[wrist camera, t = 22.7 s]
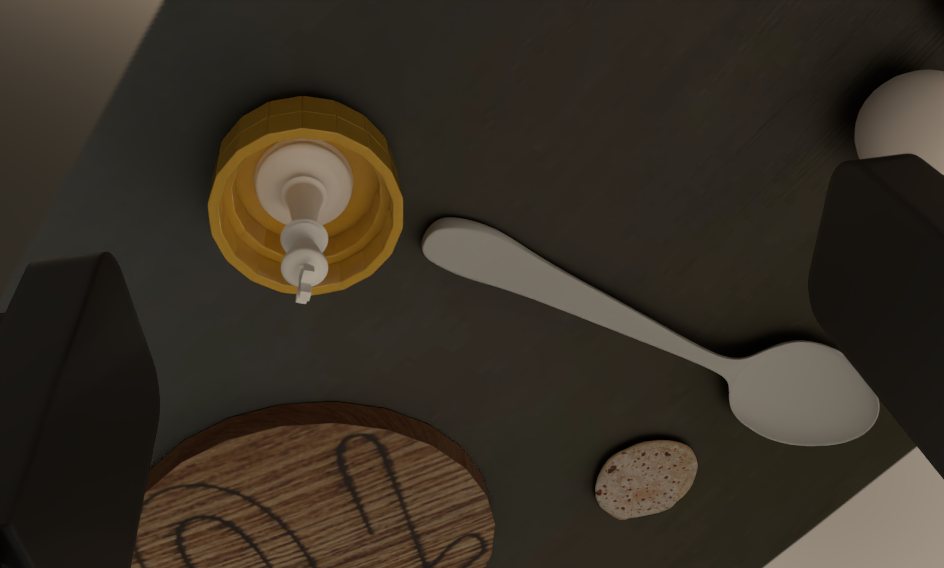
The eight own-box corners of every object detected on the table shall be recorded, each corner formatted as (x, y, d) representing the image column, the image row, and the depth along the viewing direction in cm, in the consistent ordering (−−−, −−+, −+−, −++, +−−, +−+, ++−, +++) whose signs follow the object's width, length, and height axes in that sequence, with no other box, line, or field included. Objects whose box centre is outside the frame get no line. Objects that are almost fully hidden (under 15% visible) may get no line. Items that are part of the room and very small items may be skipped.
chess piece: (246, 213, 44) (234, 333, 36) (263, 126, 41) (254, 235, 33) (341, 230, 45) (350, 350, 37) (363, 148, 43) (377, 257, 35)
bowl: (177, 146, 42) (165, 190, 38) (336, 56, 41) (340, 92, 37) (282, 273, 47) (280, 323, 43) (426, 196, 46) (437, 241, 42)
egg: (936, 29, 45) (1040, 87, 39) (944, 128, 49) (1041, 195, 42) (821, 81, 46) (905, 147, 39) (838, 175, 49) (917, 248, 43)
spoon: (891, 365, 59) (912, 390, 57) (815, 444, 62) (833, 469, 60) (455, 158, 46) (462, 179, 44) (389, 271, 49) (391, 296, 47)
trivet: (418, 348, 52) (422, 368, 50) (531, 572, 66) (536, 593, 65) (44, 485, 53) (37, 509, 52) (235, 675, 68) (234, 697, 66)
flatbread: (612, 432, 59) (616, 443, 58) (710, 437, 61) (715, 447, 60) (578, 512, 63) (582, 523, 62) (670, 514, 65) (675, 524, 64)
